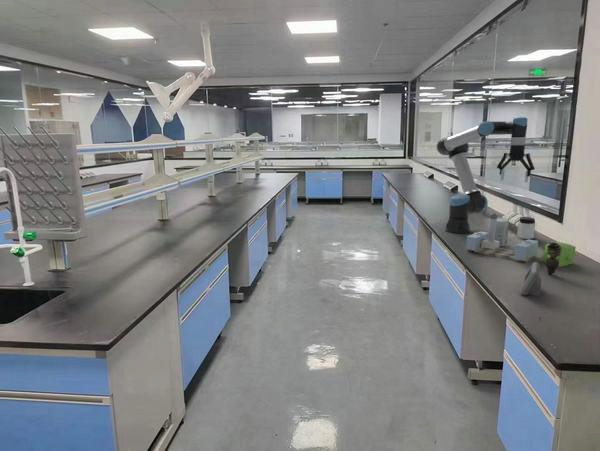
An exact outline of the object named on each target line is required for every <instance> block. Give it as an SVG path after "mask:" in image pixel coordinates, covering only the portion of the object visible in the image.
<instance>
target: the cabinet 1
mask: <svg viewBox="0 0 600 451" xmlns="http://www.w3.org/2000/svg"><path fill="white" fill-rule="evenodd" d="M487 237H488V231H476V232H473V233H472V234H469V235H467V236H466V244H465V249H467V250H468V249H470V250H477V249H479V248H480V247H481V240H482V239H484V240H485V239H487Z"/></svg>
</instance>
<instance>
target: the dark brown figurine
mask: <svg viewBox="0 0 600 451" xmlns="http://www.w3.org/2000/svg"><path fill="white" fill-rule="evenodd" d="M549 244H550V245H548V246H547V247H548V249H547V250H548V252H547V253H548V254H549V255H550V258H547V259H546V263H545V266H546V268H547V272H546V273H547V274H548V275H550V276H551V275H552V274H555V273H556V272H555V271H556V269H557V268H559V267H558V266H559V260H558V259H556V257H558V256H559V255H560V252H561V249H562V247H561V246H560V245H559V244H557V243H555V242H549Z"/></svg>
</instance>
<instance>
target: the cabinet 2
mask: <svg viewBox="0 0 600 451" xmlns="http://www.w3.org/2000/svg"><path fill="white" fill-rule="evenodd" d="M538 248H539V240H534V239H525V240H522V242H519V243H518V244H515V249H514V251H515V256H514V259H518V260H523V261H525V260H527V259H529V258H531V257H533V256H534V255H535V256H536V255H537V254H538Z"/></svg>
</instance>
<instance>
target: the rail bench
mask: <svg viewBox="0 0 600 451" xmlns="http://www.w3.org/2000/svg"><path fill="white" fill-rule="evenodd" d="M468 250H470V249H467V251H468ZM472 251H474V253H477V252H478V254H482V253H483V255H486V256H492V257H497V258H502V259H506V260H512V261H516V262H521V263H526V264H527V263H528V262H530V261H532V260H534V259H536V255H534V256H533V257H531V258H529V259H527V260H525V261H523V260H518V259H514V256H515V250H512V249H507V248H506V249H505V248H502V247H499V248H497V249H495V250H494V249H489V248H484V247H480V248H479V249H477V250H470V251H469V252H472Z"/></svg>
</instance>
